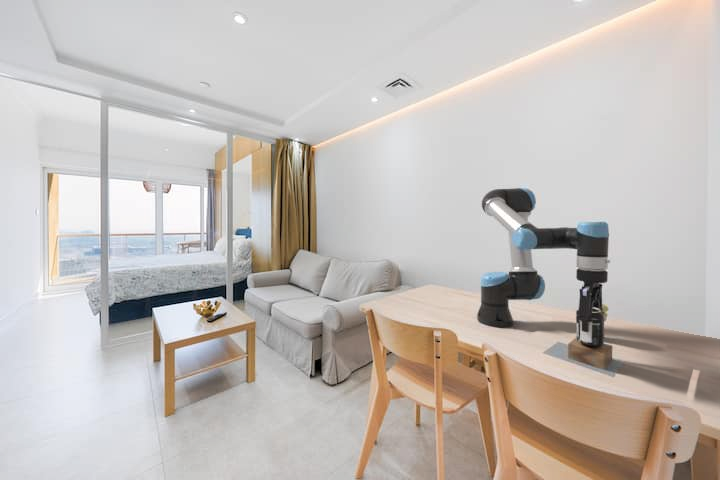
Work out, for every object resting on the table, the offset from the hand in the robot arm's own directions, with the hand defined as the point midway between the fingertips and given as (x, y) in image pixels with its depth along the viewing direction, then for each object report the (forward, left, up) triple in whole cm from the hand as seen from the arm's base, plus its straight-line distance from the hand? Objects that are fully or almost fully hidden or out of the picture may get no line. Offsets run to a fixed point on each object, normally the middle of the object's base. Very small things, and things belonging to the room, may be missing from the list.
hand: (590, 336), depth 85 cm
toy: (-5, +25, -9) cm, 27 cm away
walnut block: (0, 0, -8) cm, 8 cm away
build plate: (-2, 0, -9) cm, 9 cm away
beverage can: (0, 0, -3) cm, 3 cm away
